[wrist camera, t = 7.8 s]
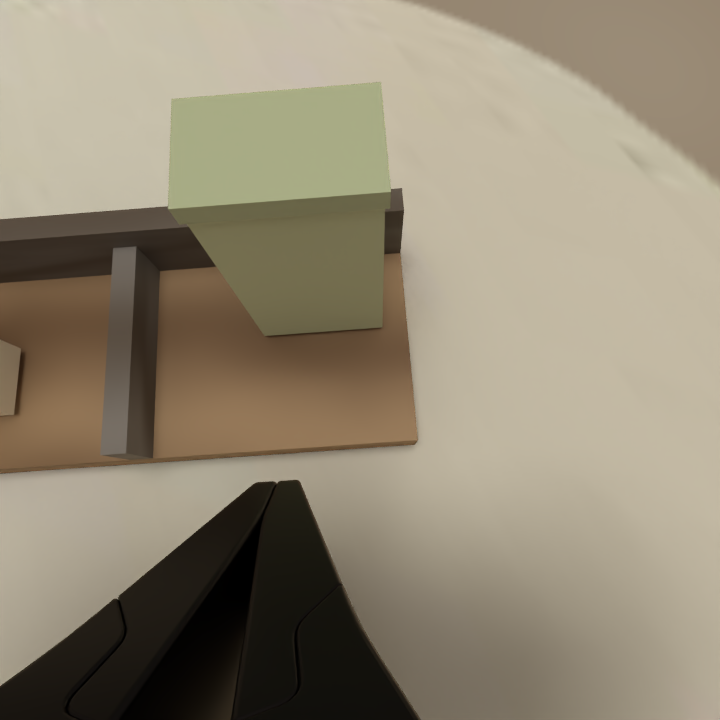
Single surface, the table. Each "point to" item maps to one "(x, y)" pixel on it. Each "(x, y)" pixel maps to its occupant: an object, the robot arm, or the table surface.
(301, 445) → the brown wooden rack
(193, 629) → the robot arm
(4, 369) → the beige rectangular block
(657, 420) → the table surface
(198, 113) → the pale green tall block
